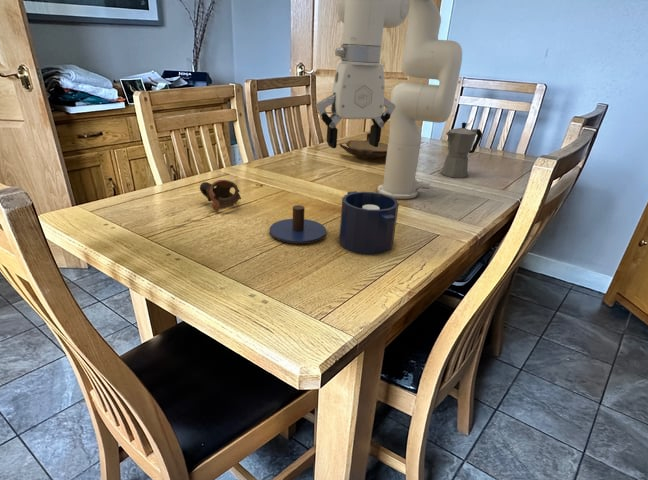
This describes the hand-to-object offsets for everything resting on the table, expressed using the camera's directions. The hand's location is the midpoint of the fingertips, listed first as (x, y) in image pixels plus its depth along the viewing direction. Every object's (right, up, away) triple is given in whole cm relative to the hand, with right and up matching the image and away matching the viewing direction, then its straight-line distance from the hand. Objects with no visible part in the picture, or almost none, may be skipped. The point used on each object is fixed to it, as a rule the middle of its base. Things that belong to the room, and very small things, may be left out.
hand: (353, 146), depth 94 cm
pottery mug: (-35, -8, +28) cm, 45 cm away
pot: (+4, -20, +11) cm, 23 cm away
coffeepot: (+43, +11, +66) cm, 80 cm away
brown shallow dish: (+13, +23, +84) cm, 88 cm away
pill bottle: (+4, -19, +11) cm, 22 cm away
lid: (-12, -17, +13) cm, 25 cm away
